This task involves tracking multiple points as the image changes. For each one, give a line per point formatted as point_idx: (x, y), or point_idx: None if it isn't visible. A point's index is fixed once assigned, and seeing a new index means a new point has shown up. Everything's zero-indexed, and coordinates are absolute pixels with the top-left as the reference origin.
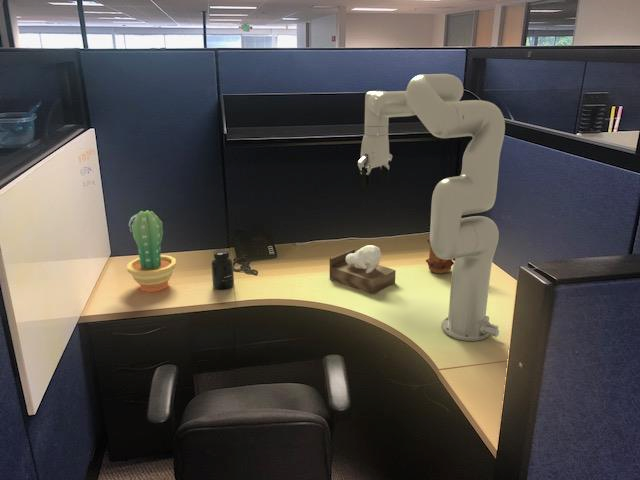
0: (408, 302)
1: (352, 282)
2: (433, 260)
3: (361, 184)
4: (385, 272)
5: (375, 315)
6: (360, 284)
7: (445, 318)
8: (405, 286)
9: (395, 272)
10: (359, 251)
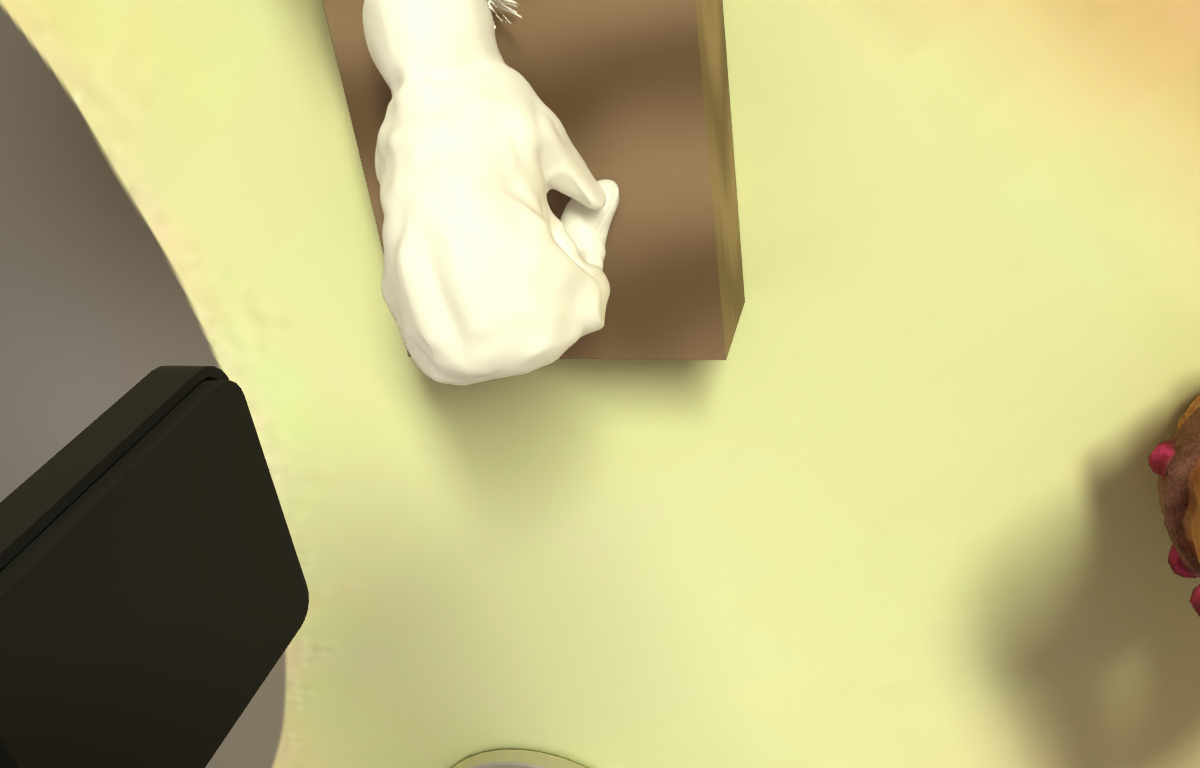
0: (558, 527)
1: None
2: (1196, 496)
3: (155, 369)
4: (616, 325)
5: (283, 472)
6: None
7: (523, 765)
8: (750, 393)
9: (729, 348)
10: (381, 201)
